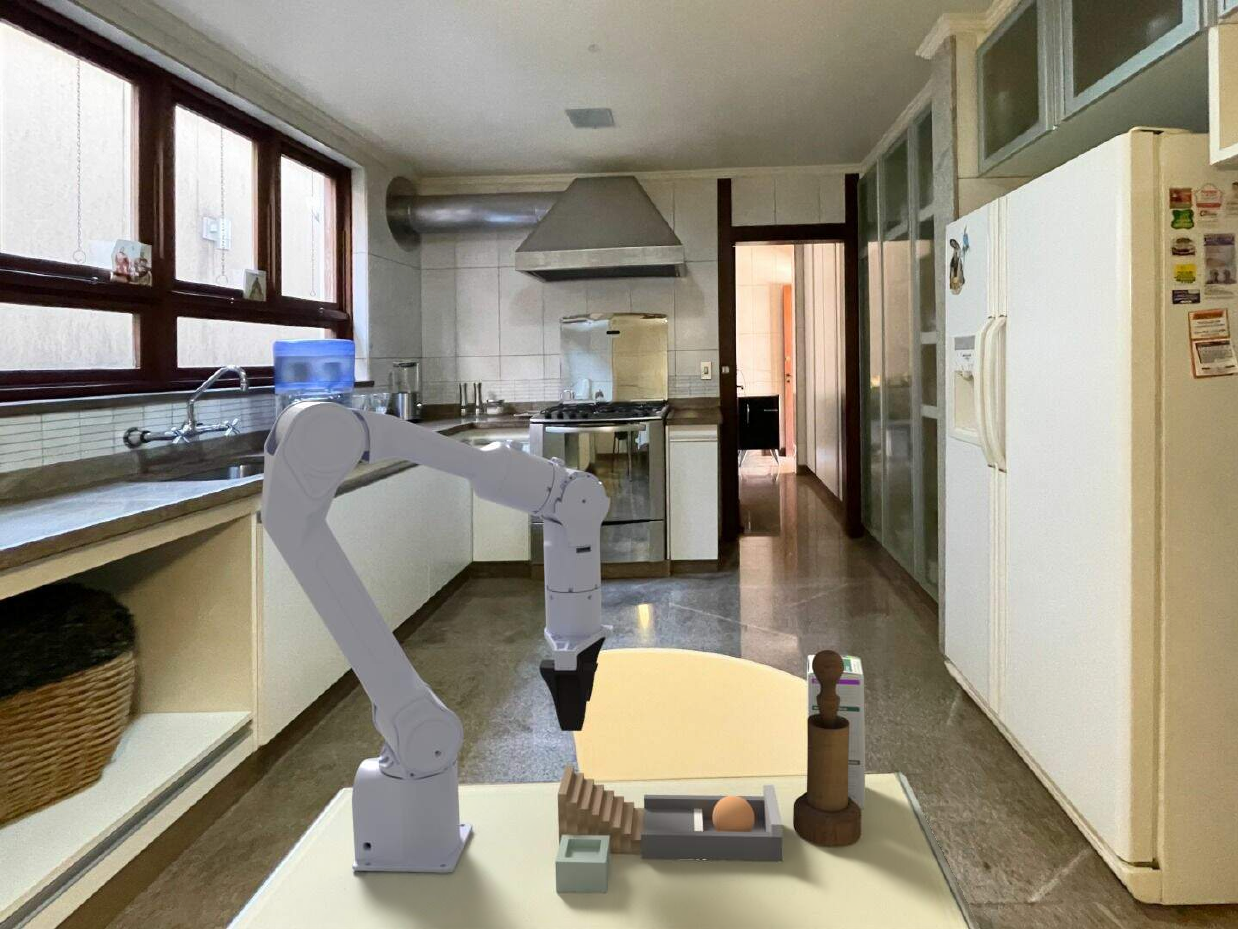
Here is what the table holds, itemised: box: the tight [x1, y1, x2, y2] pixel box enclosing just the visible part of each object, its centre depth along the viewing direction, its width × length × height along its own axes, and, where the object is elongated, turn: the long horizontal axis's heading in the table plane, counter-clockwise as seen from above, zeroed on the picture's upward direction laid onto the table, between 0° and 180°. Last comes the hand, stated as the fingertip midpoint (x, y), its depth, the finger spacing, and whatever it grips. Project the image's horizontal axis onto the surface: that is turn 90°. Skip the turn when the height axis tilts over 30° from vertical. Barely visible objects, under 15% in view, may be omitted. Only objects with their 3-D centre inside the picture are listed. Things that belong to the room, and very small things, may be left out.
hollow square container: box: [554, 835, 611, 894], centre depth 78 cm, size 4×4×3 cm
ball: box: [712, 795, 754, 832], centre depth 83 cm, size 4×4×4 cm
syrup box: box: [806, 654, 866, 810], centre depth 91 cm, size 6×6×14 cm
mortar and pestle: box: [792, 649, 862, 848], centre depth 84 cm, size 7×6×18 cm
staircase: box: [557, 764, 644, 855], centre depth 84 cm, size 8×6×6 cm
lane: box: [640, 784, 783, 863], centre depth 84 cm, size 13×8×4 cm, turn 86°
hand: (576, 714), depth 90 cm, fingers open, 7 cm apart
